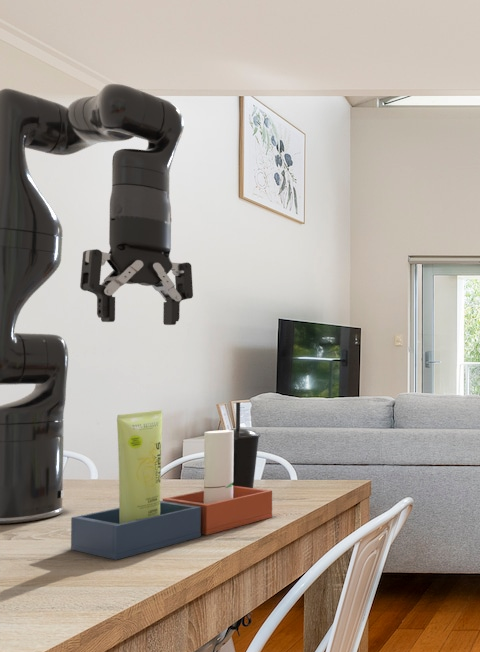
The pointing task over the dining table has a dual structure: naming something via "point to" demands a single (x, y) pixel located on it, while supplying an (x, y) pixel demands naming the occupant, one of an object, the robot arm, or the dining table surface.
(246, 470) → the drinking cup
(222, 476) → the tube
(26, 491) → the robot arm
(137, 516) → the tube
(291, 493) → the dining table surface
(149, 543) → the blue bin
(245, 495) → the terracotta bin
